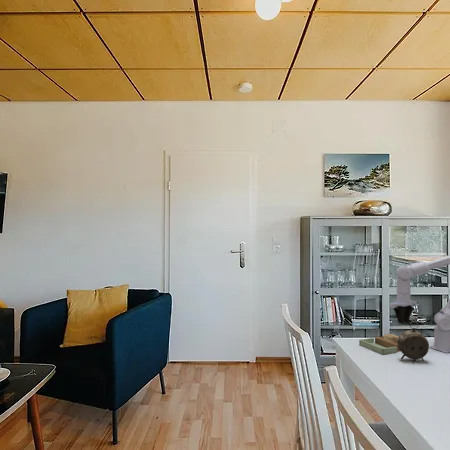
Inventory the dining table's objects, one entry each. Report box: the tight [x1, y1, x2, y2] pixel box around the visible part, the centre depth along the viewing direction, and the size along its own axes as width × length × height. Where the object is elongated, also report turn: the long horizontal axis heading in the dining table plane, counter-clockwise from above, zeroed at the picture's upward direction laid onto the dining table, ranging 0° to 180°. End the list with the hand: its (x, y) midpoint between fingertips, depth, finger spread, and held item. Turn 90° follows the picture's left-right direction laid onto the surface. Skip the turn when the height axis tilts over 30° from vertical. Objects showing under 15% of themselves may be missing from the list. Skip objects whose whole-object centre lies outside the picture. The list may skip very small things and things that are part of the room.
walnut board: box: [374, 335, 401, 353], centre depth 170 cm, size 9×12×3 cm
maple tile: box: [383, 333, 400, 342], centre depth 170 cm, size 4×4×2 cm
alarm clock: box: [398, 320, 430, 364], centre depth 152 cm, size 11×5×16 cm, turn 84°
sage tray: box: [358, 337, 398, 356], centre depth 167 cm, size 8×14×2 cm, turn 22°
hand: (403, 322), depth 172 cm, fingers open, 3 cm apart
